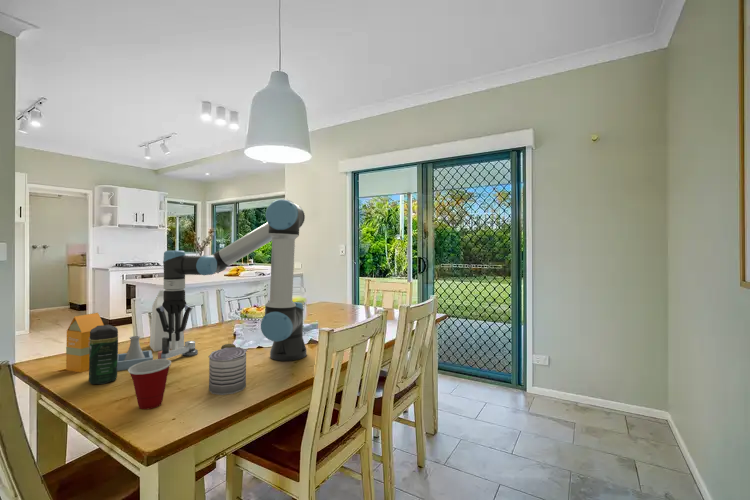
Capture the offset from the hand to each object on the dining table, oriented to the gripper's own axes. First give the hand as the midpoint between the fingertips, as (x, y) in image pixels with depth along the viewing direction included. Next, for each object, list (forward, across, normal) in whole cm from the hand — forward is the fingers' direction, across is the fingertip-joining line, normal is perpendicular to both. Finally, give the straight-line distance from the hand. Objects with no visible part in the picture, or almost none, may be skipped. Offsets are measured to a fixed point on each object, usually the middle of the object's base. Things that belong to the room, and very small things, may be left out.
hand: (174, 349), depth 146 cm
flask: (+5, -14, 0) cm, 15 cm away
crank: (+4, 0, +6) cm, 7 cm away
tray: (+5, -15, 0) cm, 16 cm away
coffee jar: (+5, -16, -18) cm, 25 cm away
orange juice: (+5, -30, -3) cm, 30 cm away
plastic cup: (+5, +8, -41) cm, 42 cm away
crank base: (+6, +2, +11) cm, 12 cm away
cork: (+6, +24, -16) cm, 29 cm away
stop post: (+5, -6, +1) cm, 8 cm away
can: (+6, +27, -30) cm, 40 cm away
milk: (+6, -12, +25) cm, 29 cm away
